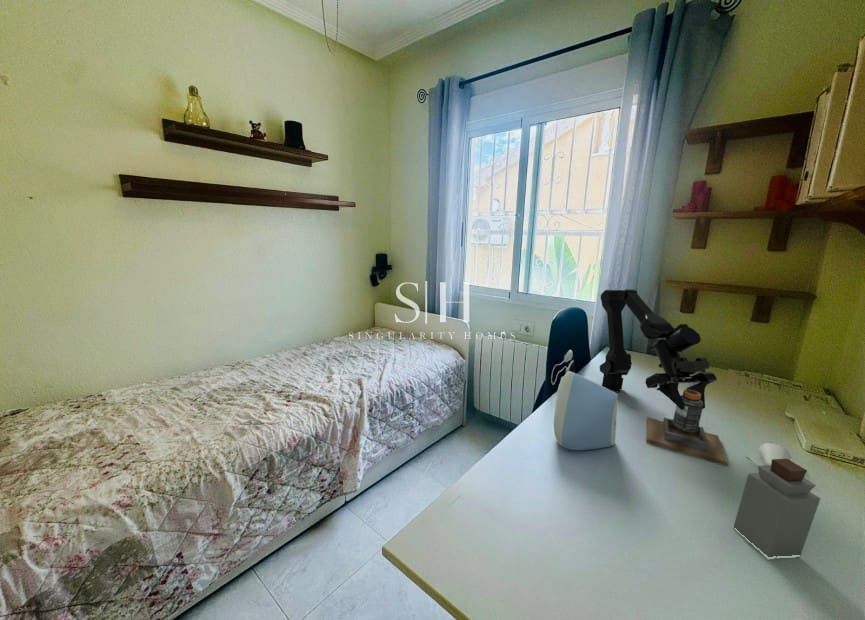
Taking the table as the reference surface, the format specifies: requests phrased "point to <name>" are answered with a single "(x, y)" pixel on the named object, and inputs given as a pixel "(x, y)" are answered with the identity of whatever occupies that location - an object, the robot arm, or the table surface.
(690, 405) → the pill bottle
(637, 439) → the table surface
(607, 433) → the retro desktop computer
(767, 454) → the woman figurine
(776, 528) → the perfume bottle
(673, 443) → the socket plate
